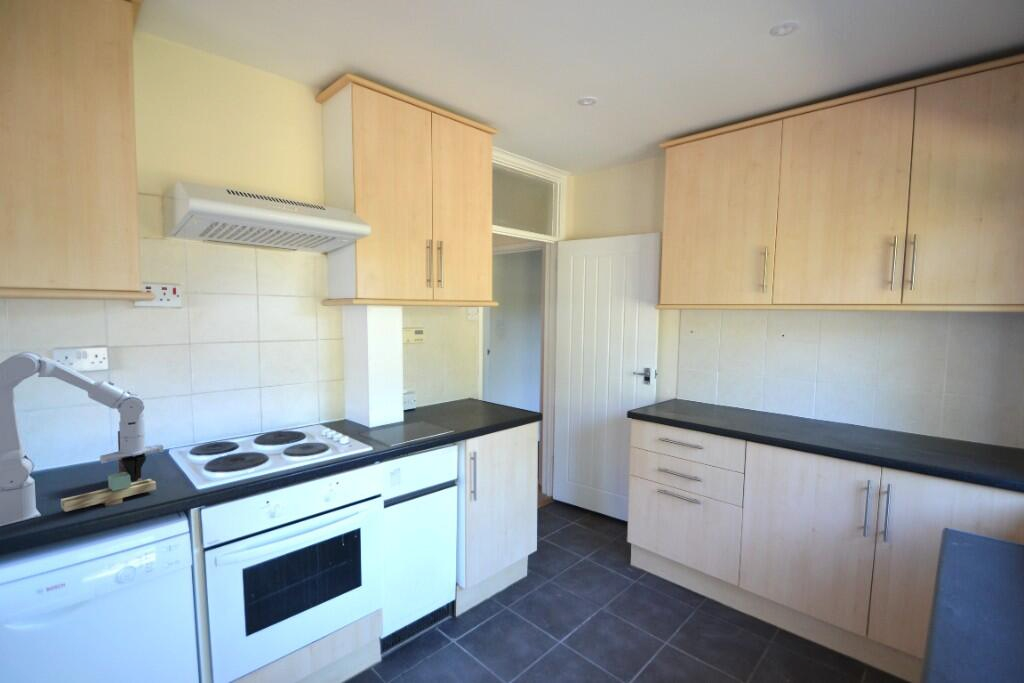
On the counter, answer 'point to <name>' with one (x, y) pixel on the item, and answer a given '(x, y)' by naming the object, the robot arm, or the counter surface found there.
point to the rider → (119, 481)
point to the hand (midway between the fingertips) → (134, 480)
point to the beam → (106, 496)
